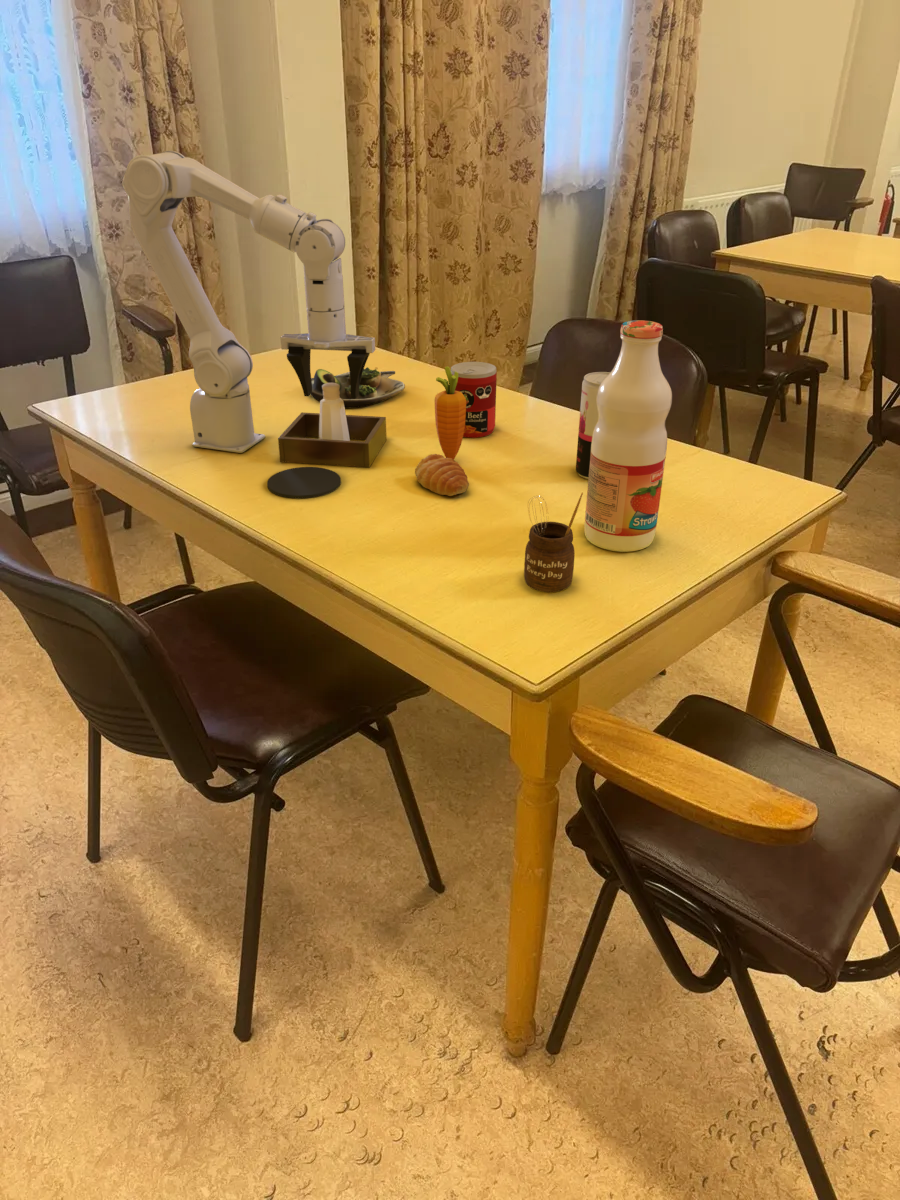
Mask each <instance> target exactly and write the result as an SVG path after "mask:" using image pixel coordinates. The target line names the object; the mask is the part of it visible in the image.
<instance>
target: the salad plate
mask: <svg viewBox="0 0 900 1200" xmlns="http://www.w3.org/2000/svg"><path fill="white" fill-rule="evenodd" d="M395 374H396V371H395V370H385V371H383V370H382V371H379V370H378V367H374V369H370V367H366V368H365V367H364V370H363V373H362V377H361V381H360V386H359V395H358V397H357V398H356V399H351V380H350V371H347V372H343V373H340V374H336V375H334V374H333V373H331V372H330V371H328V370H326V369H322V368H319V369H317V370H316V371H315V373H314V375H313V377H311V381H312V393H311V394H310V396H311V397H312V398H313V399H314V400H317V401H319V402H320V400H322V399H324V398H323V396H324V395H323V389H322V385H323V384H326V383H337V384H339V385H340V388H339V391H340V394H339V396H340V398H341V399H342V400H343V402H344V407H345V409H356V408H363V407H364V408H365V407H369V406H371V405H375V404H378V403H382V402H384V401H387V400H389V399H390V398H391V399H392V398H393V397H396V396H397V395H399V394H400V393H401V392H403V391H404V390H405V388H406V385H405V383H404V382H403V381H400V380H398V379H393V378H389V377H391V376H394V375H395Z"/></svg>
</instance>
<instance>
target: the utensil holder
mask: <svg viewBox="0 0 900 1200" xmlns="http://www.w3.org/2000/svg"><path fill="white" fill-rule="evenodd" d="M583 495H584V492H581V493H580V496H579V498H578V500H577V503H576V506H575V508H574V511H573V513H572V515H571V518H570V521H569V524H568V525H567V524H565V523H562V522H558V521H548V517H546V520H545V521H542V519H543V518H540V520H541V521H540V522H537V521H538V518H537V517H538V516H533V519H534V521H535V524H534V523H533V522H532V518H531V515H528V517H529V521H530V523H531V525H532V526H531V527H530V529H529V533H528V542H527V544H526V546H525V550H524V565H523V566H524V567H523V577H524V581H525V584H526V585H527V586H528V587H530V588H531V589H532V590H535V591H538V592H542V593H559V592H562V591H564V590H566V589H568V588H569V587H570V586H571V584H572V581H573V579H574V578H573V577H574V569H575V568H574V567H575V555H576V554H575V546H574V544H573V541H574V534H573V529H572V527H573V526H572V525H573V522H574V520H575V518H576V516H577V513H578V510H579V506H580V504H581V500H582V497H583ZM540 498H541V499H542V500H543V501H544V505H545V507H548V504H547V501H546V500H545V498H544V497H542V495H534V496H532V497H531V499H530V500H529V501H527V504H528V507H530V505H531V507H532V509H534V506H533V504H531V503H532V502H533V500H536V499H538V505H539V506H541V508H539V513H542V514H543V517H545V513H544V512H542V510H544V509H543V504H542V503H541V500H540ZM541 509H542V510H541ZM545 509H546V513H548V512H549V510H548V508H545ZM527 512H528V514H531V510H530V509H527ZM532 513H533V515H535V514H537V511H536V509H534V511H532Z"/></svg>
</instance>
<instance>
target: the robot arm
mask: <svg viewBox="0 0 900 1200" xmlns="http://www.w3.org/2000/svg"><path fill="white" fill-rule="evenodd" d="M121 186H122V188H123V189H124V192H125V193H126V195H127V201H128V210H129V211H128V212H129V220H130V227H131V229H132V232H133V234H134V236H135V238H136V239H137V241H138V243H139V245H140V247H141V249H142V251H143V253H144V255H145V256H146V257H145V258H146V259H147V261H148V263H149V265H150V266H151V268H152V270H153V272H154V274H155V276H156V278H157V280H158V281H159V283H160V285H161V287H162V289H163V291H164V293H165V294H166V296H167V298H168V300H169V302H170V304H171V306H172V308H173V310H174V311H175V313H176V315H177V318H178V319H179V321H180V323H181V325H182V327H183V329H184V331H185V332H186V335H187V336H188V338H189V348H188V349H189V350H188V358H189V360H190V363H191V364H192V367H193V375H194V380H195V382H196V384H197V386H198V387H199V388H196V390H194V392H193V393H192V395H191V398H190V401H189V402H190V403H189V411H190V418H191V423H192V424H191V425H192V432H193V438H194V442H192V447H196V448H201V449H209V450H217V451H224V452H231V453H239V454H242V453H245V452H246V451H247V450H249V449H250V448H252V447H253V446H255V445H256V444H258V443H259V442H261V441H262V440H263V439H265V438H266V435H265V434H263V433H256V432H255V427H254V417H253V408H252V400H251V399H252V398H251V392H250V384H249V381H248V377H249V376H250V375H251V374H252V371H253V368H254V367H253V366H254V362H253V358H252V355H251V354H250V352H249V350H248V349H247V348H246V347H245V346H243V345H242V344H241V342H239V340H238V339H237V337H236V335H235V334H234V332H232V331H231V330H230V329H228V328H226V327H225V326H224V325H222V323H221V321H220V319H219V317H218V315H217V313H216V311H215V309H214V308H213V306H212V304H211V302H210V299H209V298H208V296H207V294H206V292H205V290H204V288H203V286H202V284H201V282H200V279H199V277H198V276H197V274H196V272H195V270H194V268H193V266H192V264H191V262H190V260H189V258H188V257H187V255H186V253H185V251H184V249H183V246H182V244H181V243H180V241H179V239H178V237H177V235H176V233H175V231H174V229H173V223H174V220H175V217H176V214H177V211H178V207H179V206H180V205H181V203H183V201H184V200H185V198H192V197H193V198H195V197H199V198H202V199H204V200H206V201H209V202H210V203H213V204H215V205H216V206H219V207H221V208H223V209H225V210H227V211H230V212H232V213H234V214H237V215H239V216H240V217H243V218H245V219H248V220H249V221H250V224H251V226H252V228H253V230H254V232H255V233H256V234H258V235H260V236H262V237H263V238H265V239H267V240H269V241H271V242H273V243H275V244H277V245H279V246H281V247H283V248H285V250H286V249H287V250H288V251H291V252H292V253H296V255H297V258H298V259H299V260H300V262H301V263H302V265H303V276H304V277H303V280H304V292H305V294H304V295H305V305H306V307H305V308H306V320H307V331H308V332H307V333H283V335H281V336H280V338H279V339H280V346H281V350H285V351H286V350H288V352H287V353H286V359H287V361H288V362H289V364H290V365H291V366H292V369H293V371H294V372H295V374H296V376H297V379H298V381H299V383H300V386H301V389H302V392H303V396H304V397H310V396H311V393H312V381H311V378H312V373H311V353H312V352H311V350H319V351H341V352H350V353H349V354H348V355H347V356H346V359H347V360H346V361H347V365H348V370H349V371H348V372H350V380H351V399H356V398H357V397H358V395H359V386H360V381H361V377H362V373H363V370H364V369H365V367H366V364H367V361H368V359H369V356H370V354H373V353H374V352H375V351H376V337H371V336H370V337H369V336H363V335H355V334H349V333H347V327H346V325H347V324H346V310H345V309H346V308H345V291H344V277H343V265H342V257H341V256H342V254H343V253H344V251H345V249H346V237H345V234H344V232H343V230H342V229H341V227H340V226H339V225H338V224H336V223H335V222H334V221H333V220H332V219H330V218H320V219H317V214H316V213H314V212H311V211H309V212H306V211H303V210H301V209H300V208H297V207H296V206H294V205H292V204H291V203H288V202H287V200H288V197H286V196H284V195H283V194H282V193H281V194H275V196H274V195H273V194H267V195H264V196H262V197H258V196H256V195H255V194H253V193H251V192H249V191H248V190H246V189H244V188H243V187H241V186H240V185H238V184H236V183H234V182H233V181H231V180H229V179H228V178H226V177H224V176H223V175H220V174H219V173H218V172H216V171H214V170H212V169H210V168H209V167H208V166H205V165H204V164H202V163H201V162H200V161H198V160H197V159H195V158H192V157H189V156H185V155H183V154H182V153H181V152H178V151H175V150H165V151H162V152H159V153H154V154H139V155H136V156H134V157H133V158H131V160H130V161H129V162H128V164H127V167H126V169H125V172H124V175H123V179H122V182H121Z"/></svg>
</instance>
